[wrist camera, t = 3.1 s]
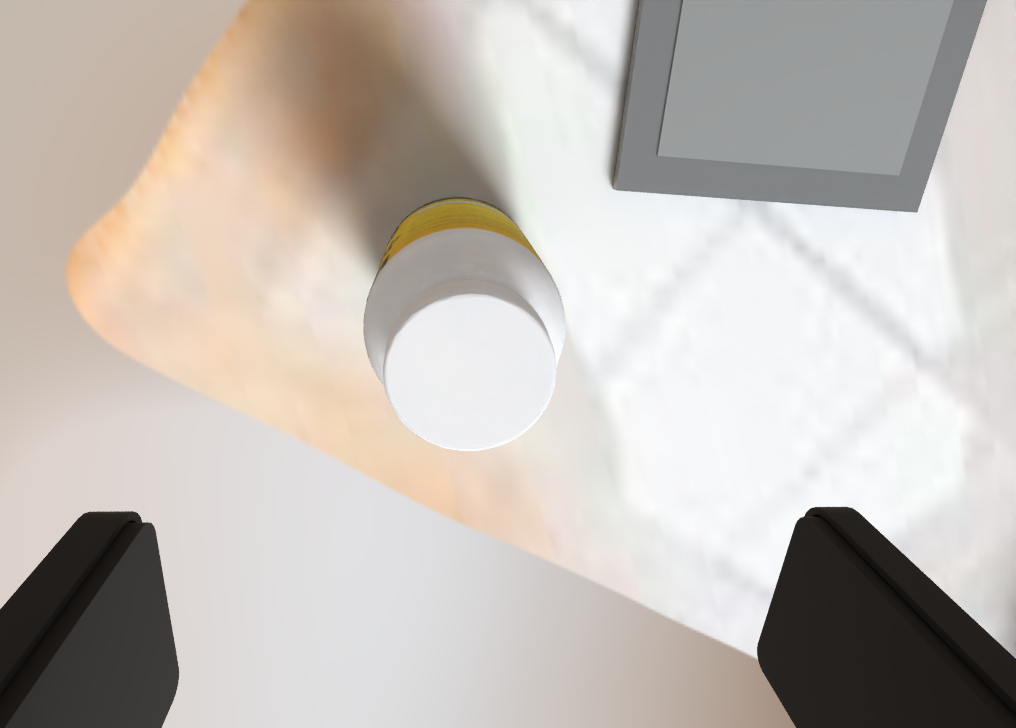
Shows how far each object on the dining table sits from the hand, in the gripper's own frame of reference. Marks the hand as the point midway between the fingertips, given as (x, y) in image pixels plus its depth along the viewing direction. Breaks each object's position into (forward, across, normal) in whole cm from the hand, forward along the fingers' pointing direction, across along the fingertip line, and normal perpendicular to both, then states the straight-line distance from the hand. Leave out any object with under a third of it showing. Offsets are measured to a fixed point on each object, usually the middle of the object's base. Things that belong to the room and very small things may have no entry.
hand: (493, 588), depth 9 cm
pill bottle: (+20, 0, 0) cm, 20 cm away
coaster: (+19, -14, -11) cm, 26 cm away
